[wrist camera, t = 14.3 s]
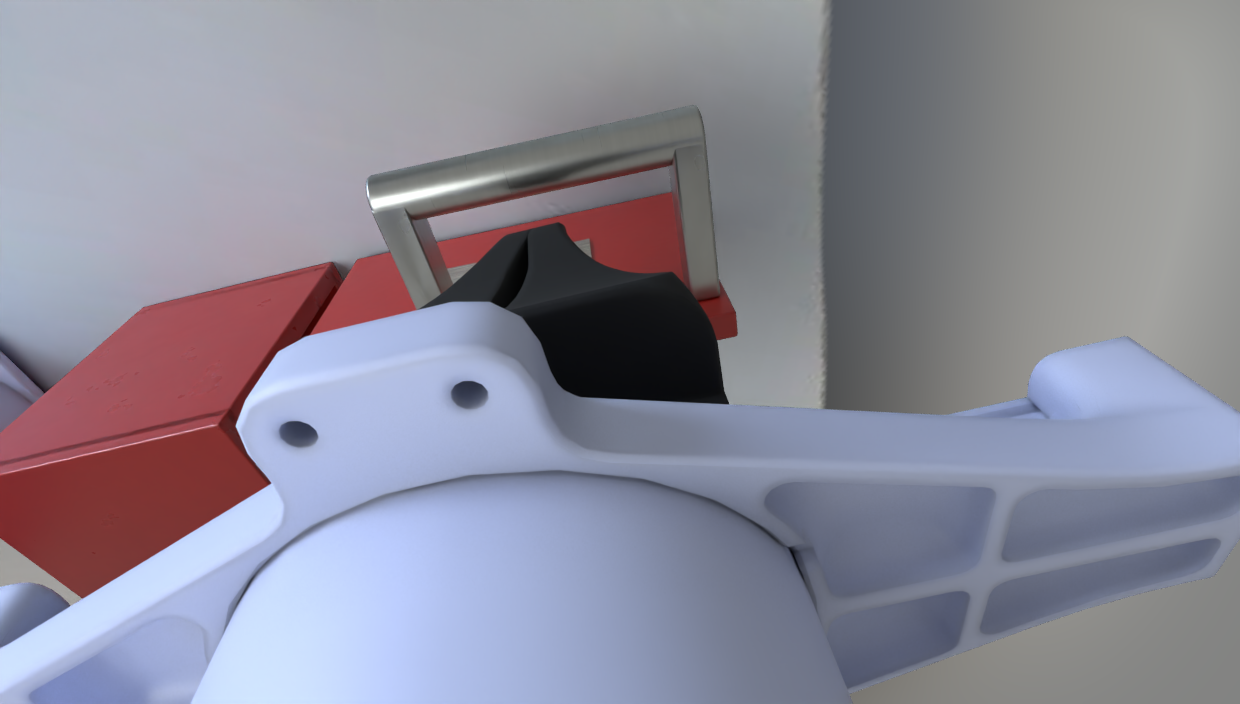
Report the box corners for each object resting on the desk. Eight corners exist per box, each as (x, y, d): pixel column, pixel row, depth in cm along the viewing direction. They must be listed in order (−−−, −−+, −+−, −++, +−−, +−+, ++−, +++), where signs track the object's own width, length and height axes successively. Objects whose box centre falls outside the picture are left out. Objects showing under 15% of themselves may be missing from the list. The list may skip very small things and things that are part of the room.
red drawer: (678, 210, 23) (738, 337, 15) (365, 276, 23) (277, 431, 16) (657, 53, 19) (721, 117, 12) (293, 133, 20) (140, 244, 12)
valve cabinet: (305, 507, 30) (220, 700, 23) (142, 306, 23) (-67, 490, 15) (452, 474, 30) (416, 659, 22) (332, 260, 23) (218, 424, 15)
